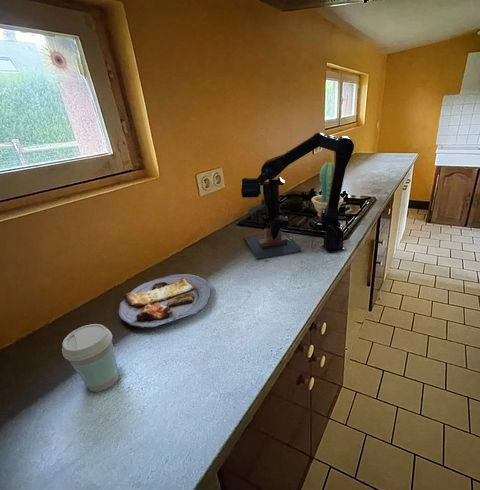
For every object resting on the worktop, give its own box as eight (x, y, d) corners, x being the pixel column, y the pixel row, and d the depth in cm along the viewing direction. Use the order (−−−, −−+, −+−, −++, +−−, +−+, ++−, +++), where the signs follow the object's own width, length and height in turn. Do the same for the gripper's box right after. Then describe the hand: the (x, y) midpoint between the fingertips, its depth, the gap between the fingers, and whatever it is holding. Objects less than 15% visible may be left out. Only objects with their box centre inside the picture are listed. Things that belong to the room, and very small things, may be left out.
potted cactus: (321, 222, 139) (323, 167, 128) (305, 212, 152) (305, 161, 140) (349, 216, 145) (353, 163, 133) (331, 207, 157) (333, 158, 146)
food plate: (122, 343, 73) (118, 332, 71) (117, 296, 91) (114, 286, 90) (221, 311, 83) (219, 300, 81) (199, 274, 101) (197, 265, 99)
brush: (284, 241, 120) (284, 224, 116) (288, 245, 116) (288, 228, 113) (258, 245, 117) (257, 229, 113) (261, 250, 113) (260, 232, 110)
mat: (283, 232, 130) (283, 231, 130) (301, 251, 113) (301, 250, 113) (244, 239, 126) (244, 238, 125) (257, 259, 109) (257, 258, 108)
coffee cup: (92, 366, 67) (73, 323, 61) (131, 362, 67) (116, 320, 62) (72, 400, 59) (48, 355, 54) (117, 395, 60) (98, 350, 54)
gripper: (243, 193, 113) (246, 231, 121) (256, 207, 98) (259, 250, 105) (271, 189, 116) (273, 227, 124) (288, 203, 101) (289, 245, 108)
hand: (273, 237), depth 115 cm, fingers closed on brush, 2 cm apart
